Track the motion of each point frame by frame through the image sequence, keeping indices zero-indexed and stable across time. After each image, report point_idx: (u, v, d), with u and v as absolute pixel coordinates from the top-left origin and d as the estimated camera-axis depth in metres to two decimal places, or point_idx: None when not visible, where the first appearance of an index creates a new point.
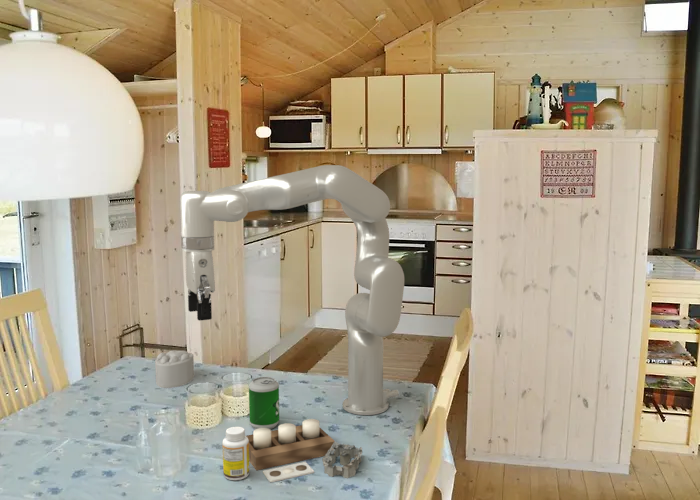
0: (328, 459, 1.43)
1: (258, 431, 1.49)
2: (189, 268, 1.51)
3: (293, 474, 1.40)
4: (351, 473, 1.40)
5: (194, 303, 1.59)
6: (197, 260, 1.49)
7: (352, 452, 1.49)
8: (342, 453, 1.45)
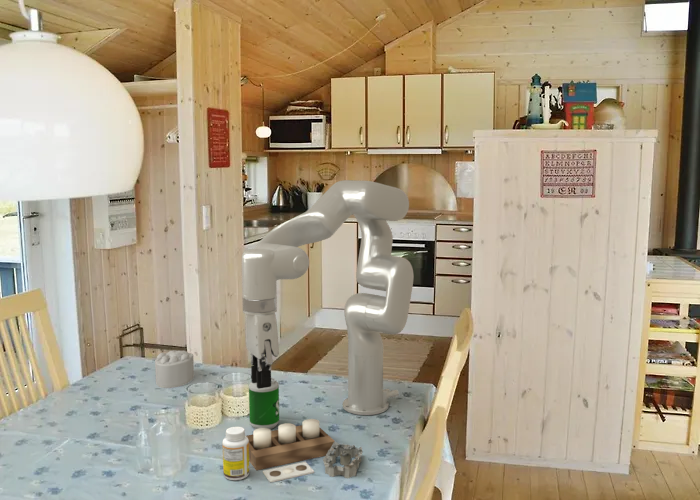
0: (329, 459, 1.43)
1: (258, 431, 1.49)
2: (251, 331, 1.43)
3: (293, 474, 1.40)
4: (352, 473, 1.40)
5: None
6: (261, 324, 1.41)
7: (352, 452, 1.49)
8: (342, 453, 1.45)
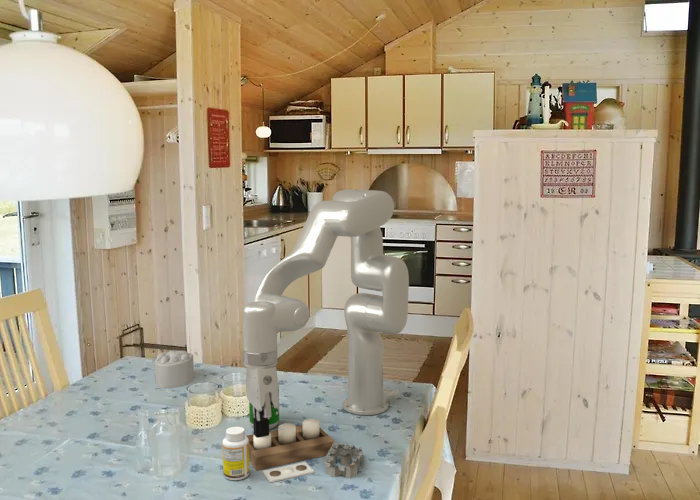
0: (329, 459, 1.43)
1: None
2: (252, 384, 1.45)
3: (293, 474, 1.40)
4: (353, 473, 1.40)
5: None
6: (262, 377, 1.42)
7: (352, 451, 1.49)
8: (343, 453, 1.45)
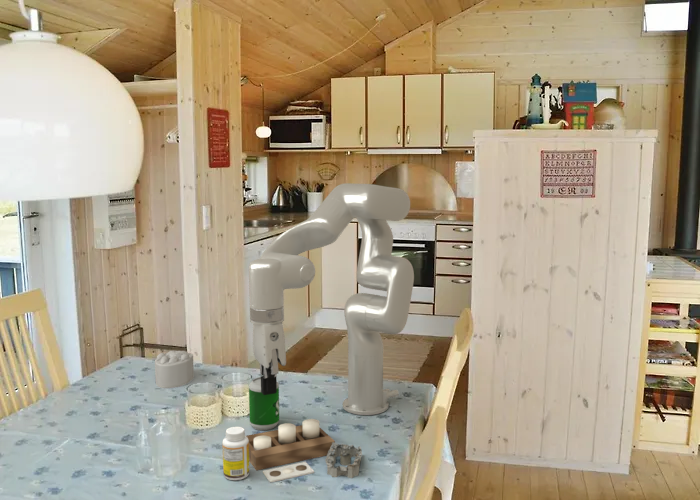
0: (330, 460, 1.42)
1: (259, 439, 1.49)
2: (259, 341, 1.44)
3: (293, 474, 1.40)
4: (355, 473, 1.40)
5: None
6: (268, 334, 1.42)
7: (351, 451, 1.49)
8: (343, 453, 1.45)
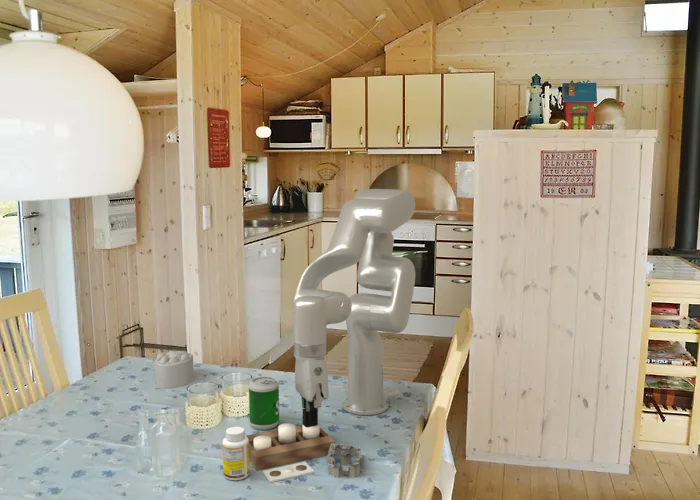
0: (331, 460, 1.42)
1: (259, 439, 1.49)
2: (302, 375, 1.50)
3: (293, 474, 1.40)
4: (356, 472, 1.40)
5: None
6: (313, 369, 1.47)
7: (350, 451, 1.49)
8: (343, 453, 1.45)
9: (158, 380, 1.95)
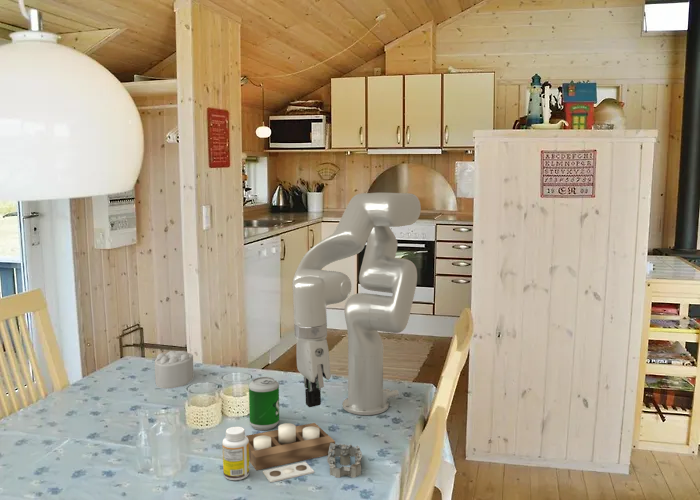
0: (332, 461, 1.42)
1: (259, 439, 1.49)
2: (304, 356, 1.50)
3: (293, 474, 1.40)
4: (358, 472, 1.41)
5: None
6: (314, 350, 1.47)
7: (349, 451, 1.49)
8: (343, 453, 1.45)
9: (158, 380, 1.95)
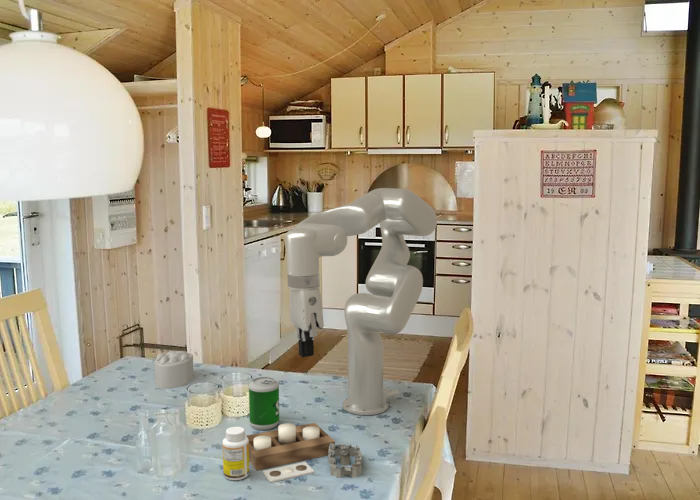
0: (332, 461, 1.42)
1: (259, 439, 1.49)
2: (297, 306, 1.53)
3: (293, 474, 1.40)
4: (358, 472, 1.41)
5: None
6: (307, 299, 1.50)
7: (349, 451, 1.49)
8: (343, 453, 1.45)
9: (158, 380, 1.95)
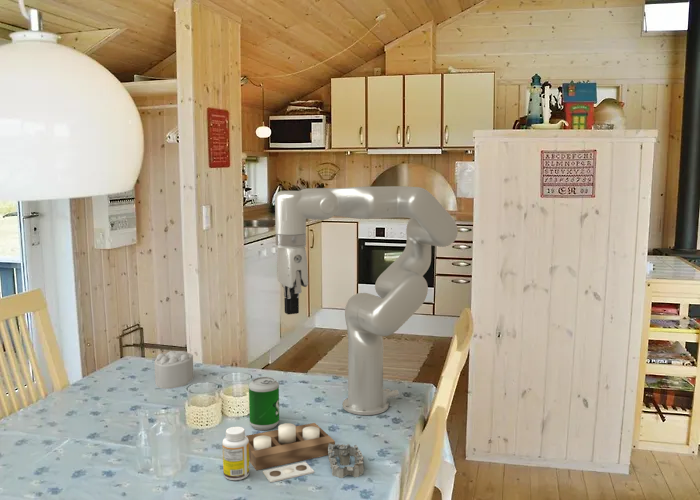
0: (334, 461, 1.42)
1: (259, 439, 1.49)
2: (284, 264, 1.60)
3: (293, 474, 1.40)
4: (360, 471, 1.41)
5: None
6: (293, 256, 1.58)
7: (348, 451, 1.49)
8: (343, 453, 1.45)
9: (158, 380, 1.95)
